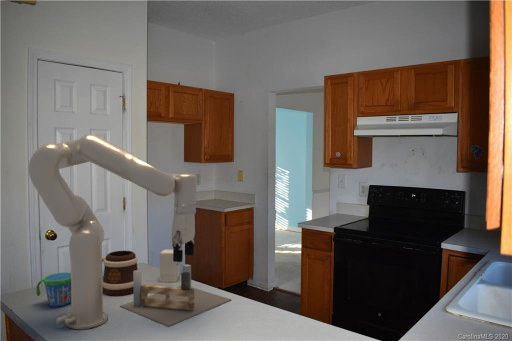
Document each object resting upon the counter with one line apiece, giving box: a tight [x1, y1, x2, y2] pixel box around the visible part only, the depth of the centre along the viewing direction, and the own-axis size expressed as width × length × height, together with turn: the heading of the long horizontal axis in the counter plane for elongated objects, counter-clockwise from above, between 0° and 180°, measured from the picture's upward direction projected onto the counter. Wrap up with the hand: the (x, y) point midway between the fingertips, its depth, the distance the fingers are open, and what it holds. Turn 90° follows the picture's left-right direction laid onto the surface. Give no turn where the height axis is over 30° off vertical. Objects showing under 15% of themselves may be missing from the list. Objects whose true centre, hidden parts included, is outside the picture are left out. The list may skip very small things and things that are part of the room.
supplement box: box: [159, 249, 181, 283], centre depth 176 cm, size 7×7×13 cm
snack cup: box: [35, 271, 71, 308], centre depth 148 cm, size 16×11×10 cm
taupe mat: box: [119, 285, 232, 328], centre depth 148 cm, size 30×27×1 cm
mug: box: [102, 250, 139, 296], centre depth 163 cm, size 20×15×15 cm
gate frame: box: [133, 264, 192, 307], centre depth 154 cm, size 26×3×13 cm, turn 142°
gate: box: [141, 271, 195, 310], centre depth 142 cm, size 20×3×13 cm, turn 77°
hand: (183, 258), depth 140 cm, fingers open, 9 cm apart
